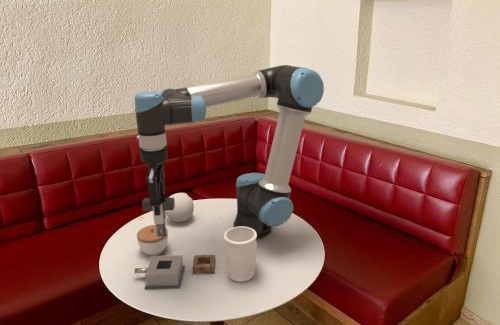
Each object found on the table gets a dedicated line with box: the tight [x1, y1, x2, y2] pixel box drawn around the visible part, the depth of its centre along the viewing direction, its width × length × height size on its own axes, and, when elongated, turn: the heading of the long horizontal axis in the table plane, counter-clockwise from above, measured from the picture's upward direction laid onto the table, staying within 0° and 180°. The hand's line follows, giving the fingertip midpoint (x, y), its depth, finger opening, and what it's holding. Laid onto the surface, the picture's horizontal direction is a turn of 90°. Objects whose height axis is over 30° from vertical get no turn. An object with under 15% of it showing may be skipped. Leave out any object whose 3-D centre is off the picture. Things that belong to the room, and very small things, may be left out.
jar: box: [223, 226, 258, 283], centre depth 121 cm, size 11×10×15 cm
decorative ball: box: [165, 192, 195, 223], centre depth 156 cm, size 12×12×12 cm
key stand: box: [191, 254, 216, 275], centre depth 127 cm, size 7×7×2 cm
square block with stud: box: [134, 254, 186, 290], centre depth 121 cm, size 15×11×5 cm
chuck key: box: [141, 197, 175, 237], centre depth 115 cm, size 9×3×12 cm, turn 91°
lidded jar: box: [136, 224, 169, 257], centre depth 135 cm, size 11×11×9 cm
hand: (160, 220), depth 115 cm, fingers closed on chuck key, 3 cm apart
